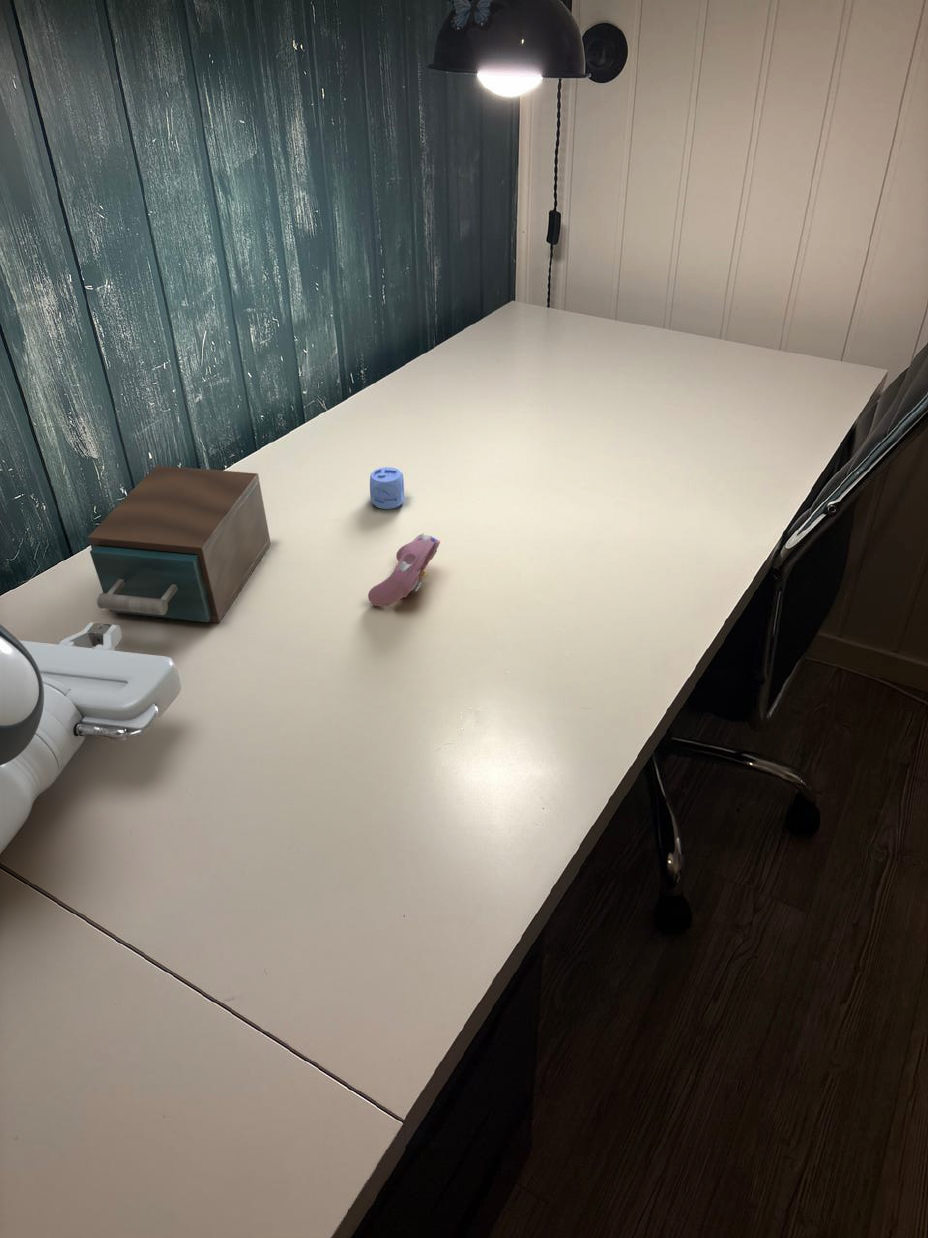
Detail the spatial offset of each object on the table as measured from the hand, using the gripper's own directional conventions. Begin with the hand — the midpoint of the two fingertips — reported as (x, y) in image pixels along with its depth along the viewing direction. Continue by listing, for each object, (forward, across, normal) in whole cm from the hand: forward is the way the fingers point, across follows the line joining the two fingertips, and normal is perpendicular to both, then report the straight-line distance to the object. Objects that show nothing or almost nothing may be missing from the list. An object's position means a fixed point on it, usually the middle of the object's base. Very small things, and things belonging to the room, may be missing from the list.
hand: (107, 628), depth 89 cm
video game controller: (+20, -25, +6) cm, 32 cm away
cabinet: (+18, 0, +6) cm, 19 cm away
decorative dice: (+38, -18, +6) cm, 42 cm away
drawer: (+14, 0, +5) cm, 15 cm away
